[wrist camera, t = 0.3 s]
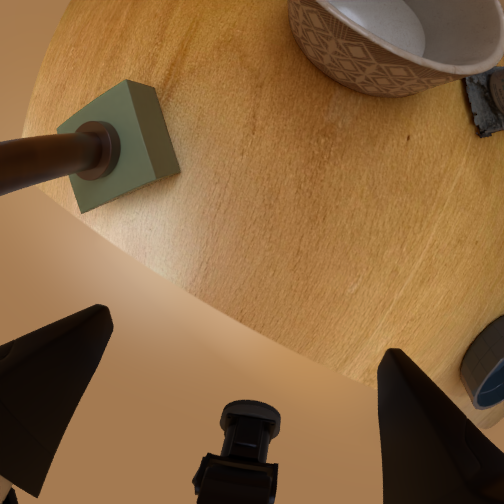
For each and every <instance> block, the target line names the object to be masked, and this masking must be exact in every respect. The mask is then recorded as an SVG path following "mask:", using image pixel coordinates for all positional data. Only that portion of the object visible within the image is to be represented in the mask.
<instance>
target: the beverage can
mask: <svg viewBox="0 0 504 504" xmlns="http://www.w3.org/2000/svg"><path fill="white" fill-rule="evenodd" d="M465 78H466V83H467V85H468V87H469V89H468V87H466V88H467V93H468V95H469V96H468V97H469V98H470V97H471V98H470V99H469V101H470V102H471V107H472V112H473V114H474V112H475V113H477V115H475V116H474V117H475V118H474V121H475V124H476V127H477V125H479V131H480V134H478V132H477V133H476V134H478V135H479V136H480V138H482V137H489V136H492V134H491V133H494V132H497V131H500V130H504V67H497V66H496V67H495V66H494V67H493V68H491V69H490V70H487V71H485V72H482V73H479V74H475V75H471V76H468V77H465ZM468 91H469V92H468Z"/></svg>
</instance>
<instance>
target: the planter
mask: <svg viewBox="0 0 504 504" xmlns="http://www.w3.org/2000/svg"><path fill="white" fill-rule="evenodd" d="M288 14H289V23H290V27H291V30H292V33H293V36H294V38H295V40H296V42H297V44H298V45H299V47H300V48H301V50H302V51H303V53H304V54H305V55H306V56H307V58H308V59H309V60H310V61H311V62H312V63H313V64H314V65H315V66H316V67H317V68H319V69H320V70H321V71H322V72H323V73H325V74H326V75H327V76H329V77H330V78H332V79H333V80H335V81H337V82H338V83H340V84H342V85H344V86H346V87H348V88H351V89H353V90H356V91H358V92H361V93H364V94H368V95H372V96H378V97H388V98H396V97H404V96H409V95H412V94H415V93H418V92H421V91H424V90H427V89H430V88H433V87H436V86H439V85H442V84H445V83H448V82H451V81H454V80H458V79H461V78H464V77H468V76H471V75H475V74H479V73H482V72H485V71H487V70H490V69H491V68H493V67H494V66H495V65H496V64H498V62H499V61H500V60H501V58H502V57H503V55H504V12H503V9H502V6H501V4H500V2H499V0H288Z"/></svg>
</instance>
